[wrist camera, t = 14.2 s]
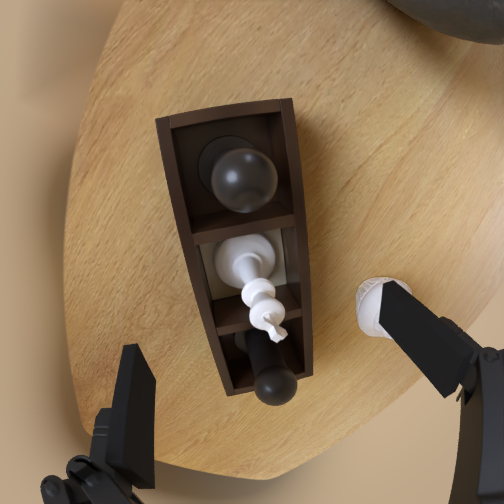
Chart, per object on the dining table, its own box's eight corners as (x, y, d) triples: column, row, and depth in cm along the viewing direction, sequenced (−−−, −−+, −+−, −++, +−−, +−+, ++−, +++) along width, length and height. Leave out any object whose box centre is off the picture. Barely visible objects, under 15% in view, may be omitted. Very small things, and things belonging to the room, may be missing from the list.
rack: (221, 363, 28) (227, 396, 24) (163, 122, 19) (154, 119, 15) (298, 344, 29) (313, 375, 25) (272, 105, 20) (292, 97, 15)
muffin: (390, 254, 27) (434, 287, 20) (393, 301, 29) (430, 337, 23) (337, 279, 27) (375, 321, 20) (346, 325, 29) (378, 368, 23)
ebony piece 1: (203, 200, 21) (209, 242, 13) (192, 141, 19) (189, 144, 11) (262, 189, 21) (303, 223, 13) (253, 131, 20) (292, 128, 12)
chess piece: (240, 215, 22) (275, 276, 13) (286, 252, 24) (340, 324, 14) (200, 263, 23) (206, 349, 13) (247, 295, 24) (277, 383, 15)
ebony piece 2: (237, 350, 27) (254, 423, 19) (228, 314, 25) (245, 390, 17) (281, 340, 27) (311, 408, 19) (277, 303, 26) (311, 373, 18)
